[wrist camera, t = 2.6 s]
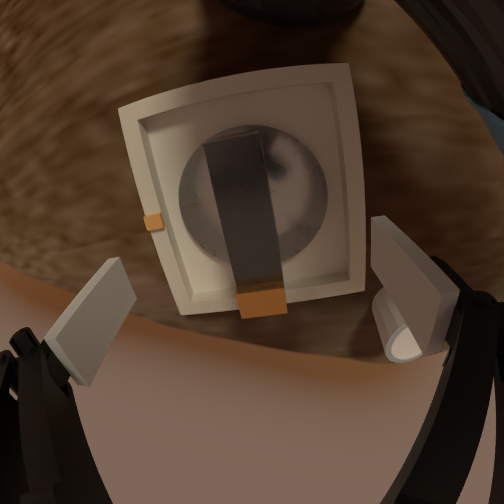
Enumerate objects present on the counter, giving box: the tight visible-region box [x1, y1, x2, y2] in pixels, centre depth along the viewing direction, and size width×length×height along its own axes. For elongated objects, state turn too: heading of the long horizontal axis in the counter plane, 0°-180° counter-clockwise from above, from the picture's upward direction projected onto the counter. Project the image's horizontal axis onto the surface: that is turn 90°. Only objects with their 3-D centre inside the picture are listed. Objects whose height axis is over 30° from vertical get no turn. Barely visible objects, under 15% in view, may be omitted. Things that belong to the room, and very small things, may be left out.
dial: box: [178, 125, 328, 319], centre depth 19 cm, size 12×12×8 cm
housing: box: [118, 63, 366, 315], centre depth 23 cm, size 20×18×4 cm
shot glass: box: [372, 287, 423, 363], centre depth 27 cm, size 7×7×7 cm
